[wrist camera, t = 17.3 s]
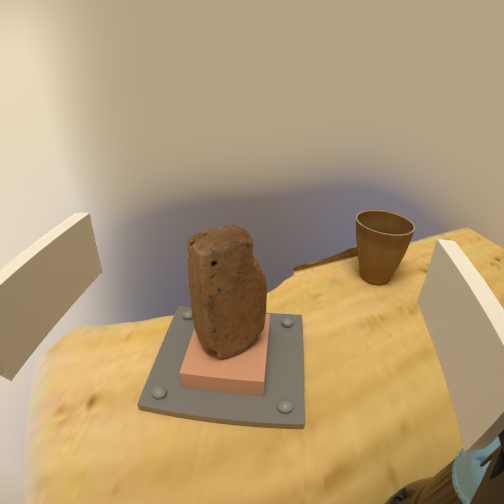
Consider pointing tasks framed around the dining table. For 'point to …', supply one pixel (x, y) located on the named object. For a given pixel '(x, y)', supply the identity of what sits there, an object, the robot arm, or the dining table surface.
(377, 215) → the plant pot
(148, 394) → the tower base
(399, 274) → the dining table surface
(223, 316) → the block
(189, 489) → the dining table surface
